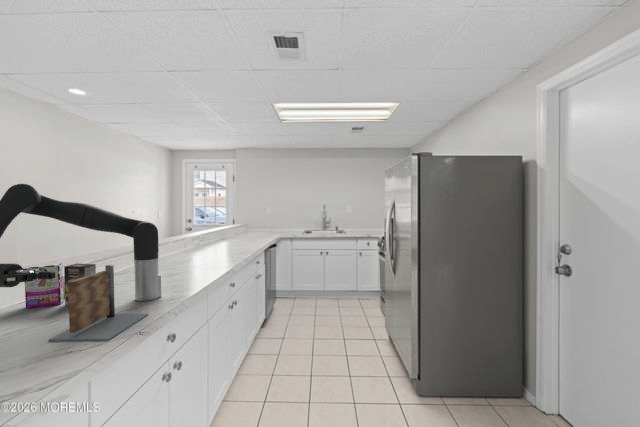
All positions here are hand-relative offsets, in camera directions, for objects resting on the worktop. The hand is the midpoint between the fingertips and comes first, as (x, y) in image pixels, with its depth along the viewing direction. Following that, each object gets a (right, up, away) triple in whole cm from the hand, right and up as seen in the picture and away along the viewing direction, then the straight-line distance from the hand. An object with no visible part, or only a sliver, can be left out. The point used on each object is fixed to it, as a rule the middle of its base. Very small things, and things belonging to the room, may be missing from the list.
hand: (53, 275), depth 103 cm
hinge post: (+11, -18, +11) cm, 24 cm away
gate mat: (+14, -18, +3) cm, 23 cm away
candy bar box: (-26, -18, +27) cm, 42 cm away
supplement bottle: (-27, -17, +40) cm, 51 cm away
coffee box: (-13, -18, +29) cm, 36 cm away
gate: (+11, -16, +1) cm, 19 cm away
